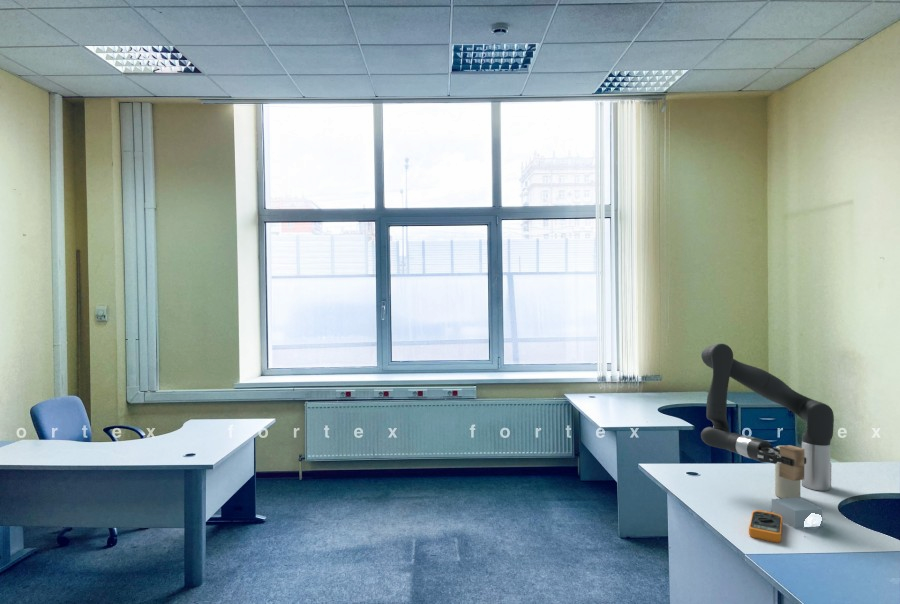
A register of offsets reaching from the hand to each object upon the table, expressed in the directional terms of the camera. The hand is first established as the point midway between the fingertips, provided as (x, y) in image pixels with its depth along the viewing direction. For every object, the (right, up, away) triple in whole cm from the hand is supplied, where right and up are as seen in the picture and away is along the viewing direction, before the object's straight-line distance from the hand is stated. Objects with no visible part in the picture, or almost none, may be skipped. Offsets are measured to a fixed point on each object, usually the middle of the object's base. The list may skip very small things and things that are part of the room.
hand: (799, 461), depth 177 cm
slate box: (0, -20, +1) cm, 20 cm away
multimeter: (-14, -21, -5) cm, 25 cm away
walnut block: (-1, -6, +3) cm, 7 cm away
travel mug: (+10, -20, +23) cm, 32 cm away
